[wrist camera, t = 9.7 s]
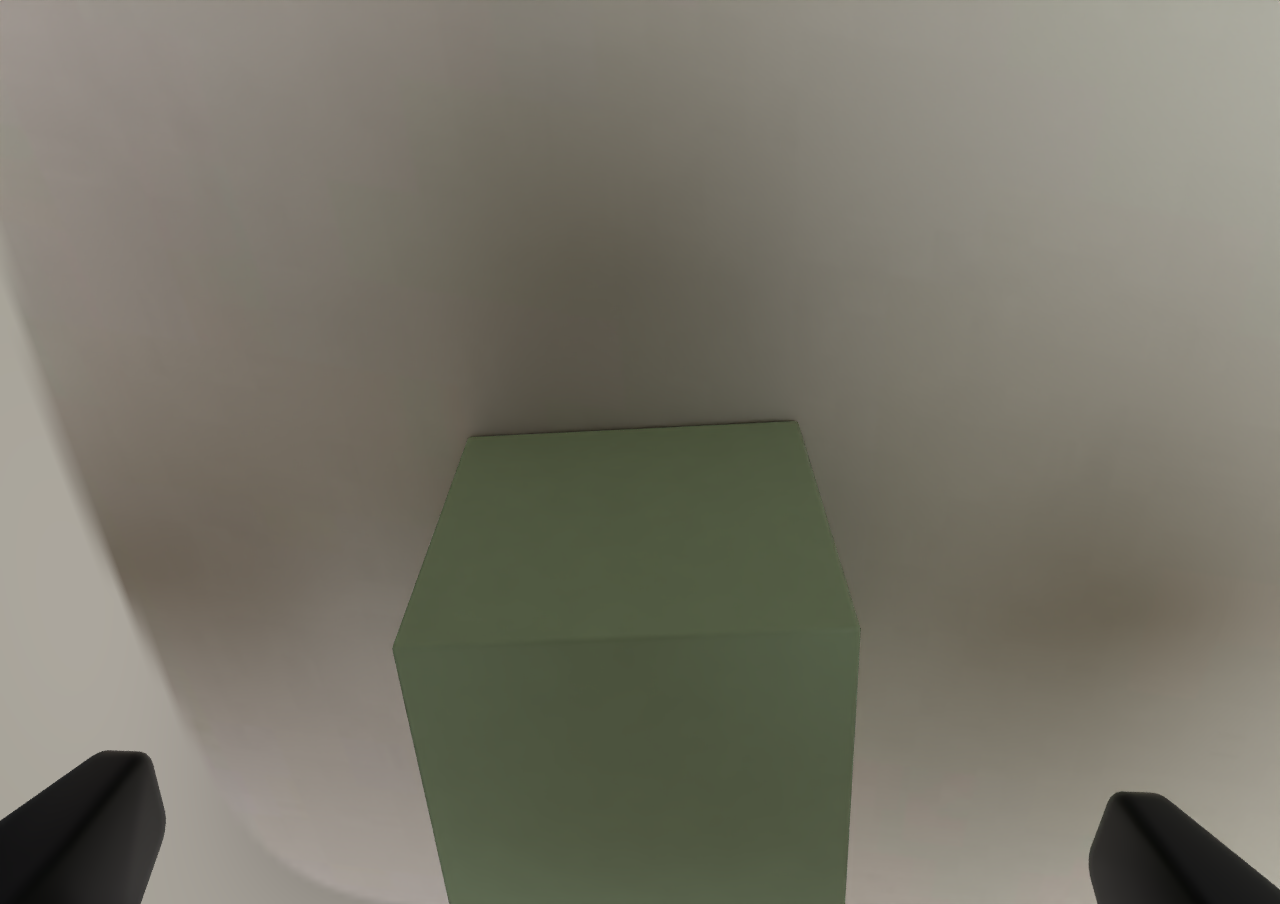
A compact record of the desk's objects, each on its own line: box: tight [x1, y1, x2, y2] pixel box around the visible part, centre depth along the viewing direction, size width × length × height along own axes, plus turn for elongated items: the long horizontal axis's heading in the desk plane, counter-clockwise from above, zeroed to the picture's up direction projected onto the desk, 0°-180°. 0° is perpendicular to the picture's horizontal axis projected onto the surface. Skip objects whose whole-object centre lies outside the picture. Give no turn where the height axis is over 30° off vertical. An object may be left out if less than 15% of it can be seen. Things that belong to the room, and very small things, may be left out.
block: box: [392, 421, 861, 904], centre depth 11 cm, size 4×4×4 cm
